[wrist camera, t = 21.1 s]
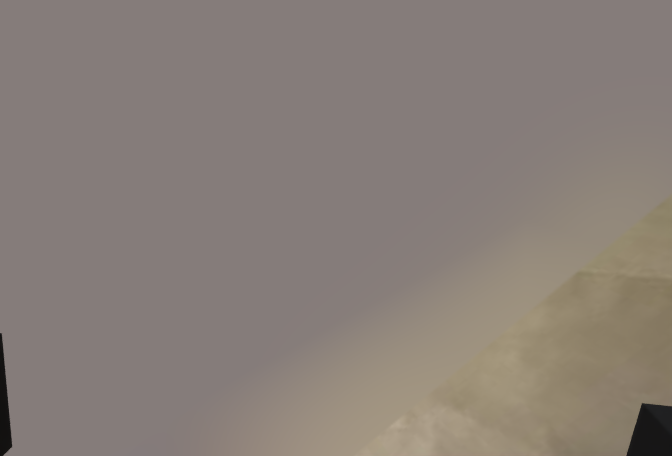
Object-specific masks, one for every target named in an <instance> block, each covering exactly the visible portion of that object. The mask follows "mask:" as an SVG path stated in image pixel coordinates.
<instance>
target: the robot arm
mask: <svg viewBox="0 0 672 456" xmlns="http://www.w3.org/2000/svg"><path fill="white" fill-rule="evenodd" d="M11 447H12V439H11V429H10V418H9V408H8V397H7V385H6V375H5V365H4V353H3V343H2V334H1V333H0V456H3V455H4V454H5V453H6V452H7V451H8V450H9V449H10V448H11ZM626 456H672V406H663V405H653V404H644V403H642V405H641V408H640V412H639V415H638V418H637V422H636V425H635V428H634V432H633V435H632V439H631V442H630V445H629V449H628V452H627V455H626Z"/></svg>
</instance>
